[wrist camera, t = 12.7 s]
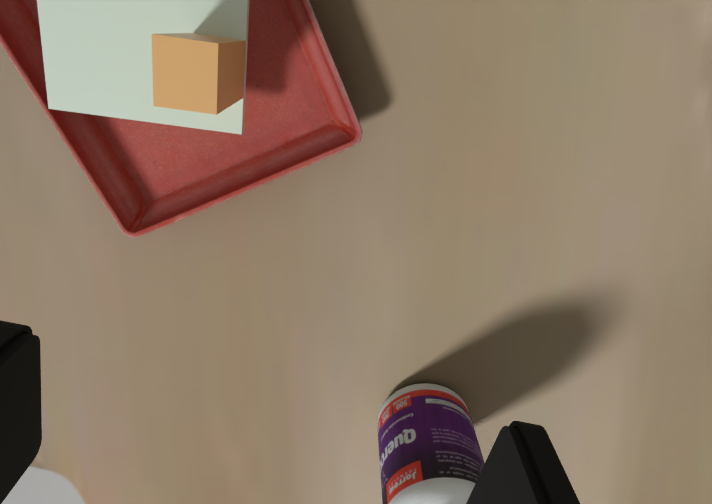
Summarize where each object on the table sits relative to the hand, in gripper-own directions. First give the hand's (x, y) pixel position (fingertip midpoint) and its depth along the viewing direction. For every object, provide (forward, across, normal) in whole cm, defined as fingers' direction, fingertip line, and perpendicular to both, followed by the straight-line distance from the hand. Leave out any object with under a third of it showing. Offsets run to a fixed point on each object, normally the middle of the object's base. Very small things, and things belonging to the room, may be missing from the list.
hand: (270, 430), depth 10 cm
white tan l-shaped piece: (+24, +12, -3) cm, 27 cm away
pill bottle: (+27, -13, +22) cm, 37 cm away
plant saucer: (+28, +10, -3) cm, 30 cm away
